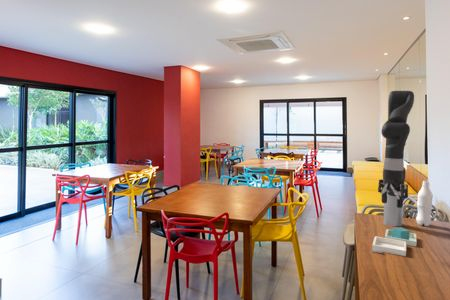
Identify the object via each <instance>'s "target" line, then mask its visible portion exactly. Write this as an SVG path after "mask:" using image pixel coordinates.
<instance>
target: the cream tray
mask: <svg viewBox="0 0 450 300" xmlns="http://www.w3.org/2000/svg"><path fill="white" fill-rule="evenodd" d="M371 252H374V253H376V254H377V253H378V254H382V255H383V254H384V255H386V253H387V254H391V255H395V256H396V255H397V256H402V257H406V256H407V245H406V242H405V241H399V240H394V239H388V238H385V237H382V236H381V237H380V236H374V238H373V242H372V248H371Z"/></svg>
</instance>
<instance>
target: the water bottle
mask: <svg viewBox="0 0 450 300" xmlns="http://www.w3.org/2000/svg"><path fill="white" fill-rule="evenodd" d="M421 185H422V186H421V188H420V190H419V191H418V192H417V202H416V203H417V204H416V207H417V214H416V217H415V221H416V223H417V225H419V226H423V225H424V227H430V226H431V223H432V217H431V213H432V209H433V198H434V195H433V193H432V190H431V189H430V181H429V180H422V184H421Z"/></svg>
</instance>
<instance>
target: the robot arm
mask: <svg viewBox="0 0 450 300" xmlns="http://www.w3.org/2000/svg"><path fill="white" fill-rule="evenodd" d="M414 103H415V93H414V92H413V91H411V90H392V91H390V92H389V94H388V102H387V104H388V105H387V120H386V121H385V122H384V124H383V125H382V127H381V136H382V137H383V138H384V139H385V153H384V161H383V170H382V178H381V179H378V186H377V191H378V193H380V194H381V203H382V204H384V205H383V218H382V219H383V225H384V226H392V227H402V226H403V225H404V224H403V223H404V200H405V199H406V200H407V199H408V198H409V185H408V184H406V183H405V182H406V181H405V180H406V168H405V167H404V165H405V163H404V154H405V152H404V151H405V146H406V144H407V143H406V142H407V140H408V137H409V135H410V133H411V127H410V125H409V124H408V123H407V121H408V117H409V114H410V113H411V110H412V108H413V106H414Z"/></svg>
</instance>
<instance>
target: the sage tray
mask: <svg viewBox="0 0 450 300" xmlns="http://www.w3.org/2000/svg"><path fill="white" fill-rule="evenodd" d="M384 238H388V239H394V240H399V241H405V242H406V246H411V247H417V234H416V233H412V232H410V233H409V240H406V239H400V238H394V237H392V229H388V228H386V229H385V234H384Z"/></svg>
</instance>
